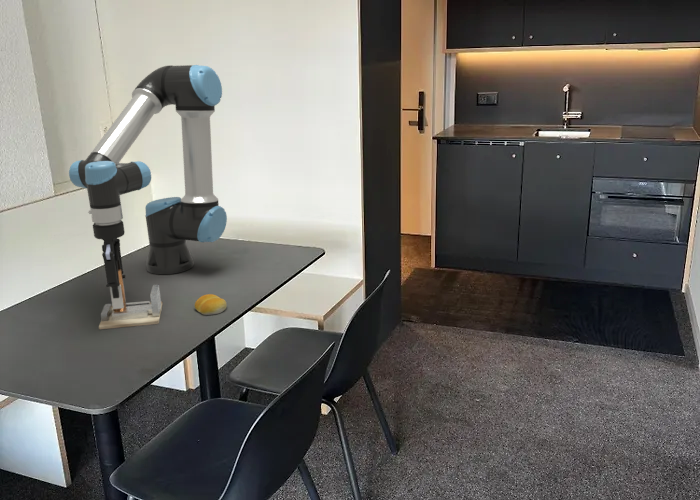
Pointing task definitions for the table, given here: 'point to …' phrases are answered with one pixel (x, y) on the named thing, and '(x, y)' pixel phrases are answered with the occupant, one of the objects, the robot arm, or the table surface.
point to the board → (130, 321)
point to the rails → (126, 314)
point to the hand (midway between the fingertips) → (119, 305)
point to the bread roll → (210, 304)
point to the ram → (151, 308)
